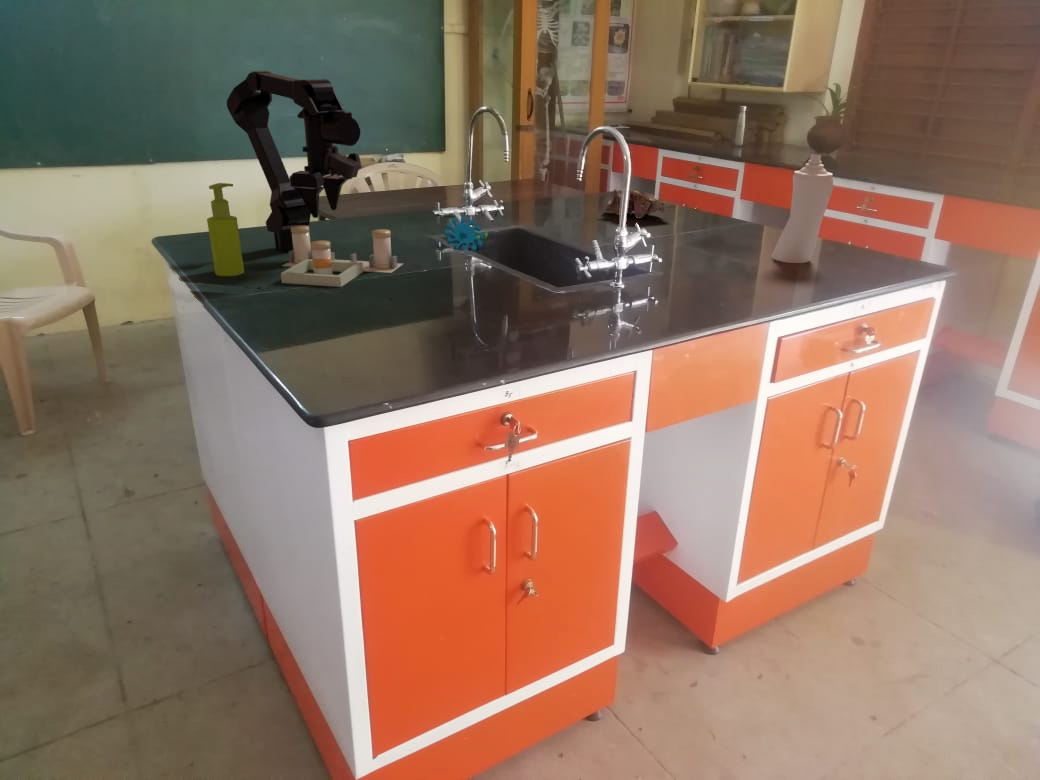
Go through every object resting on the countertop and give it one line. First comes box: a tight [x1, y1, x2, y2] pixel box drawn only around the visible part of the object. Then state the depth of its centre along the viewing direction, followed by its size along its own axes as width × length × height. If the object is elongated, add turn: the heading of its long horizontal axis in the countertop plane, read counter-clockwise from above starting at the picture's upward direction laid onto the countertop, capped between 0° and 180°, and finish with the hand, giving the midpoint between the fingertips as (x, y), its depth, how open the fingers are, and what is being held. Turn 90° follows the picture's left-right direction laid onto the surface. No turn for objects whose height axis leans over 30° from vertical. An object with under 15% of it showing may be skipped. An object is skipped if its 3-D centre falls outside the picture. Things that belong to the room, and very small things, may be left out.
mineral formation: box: [605, 188, 677, 218], centre depth 231 cm, size 23×16×10 cm
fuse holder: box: [281, 250, 404, 274], centre depth 172 cm, size 26×8×4 cm, turn 79°
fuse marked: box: [310, 240, 334, 275], centre depth 161 cm, size 4×4×8 cm
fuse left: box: [291, 225, 312, 264], centre depth 172 cm, size 4×4×8 cm
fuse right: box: [371, 228, 392, 270], centre depth 169 cm, size 4×4×8 cm
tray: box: [280, 259, 364, 295], centre depth 162 cm, size 13×12×4 cm
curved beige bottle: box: [771, 153, 834, 264], centre depth 181 cm, size 12×11×25 cm
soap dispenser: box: [206, 182, 245, 277], centre depth 162 cm, size 6×7×20 cm
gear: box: [443, 216, 489, 252], centre depth 194 cm, size 11×6×10 cm
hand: (324, 213), depth 173 cm, fingers open, 9 cm apart
